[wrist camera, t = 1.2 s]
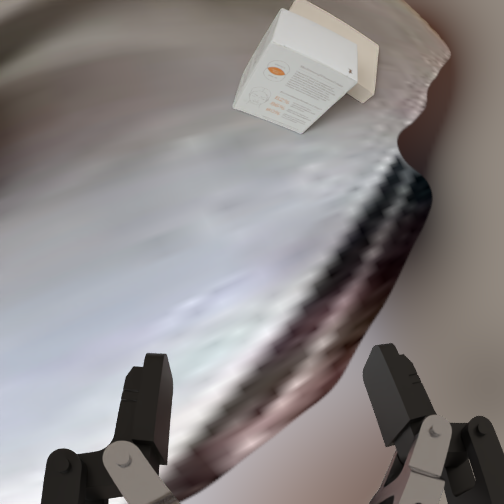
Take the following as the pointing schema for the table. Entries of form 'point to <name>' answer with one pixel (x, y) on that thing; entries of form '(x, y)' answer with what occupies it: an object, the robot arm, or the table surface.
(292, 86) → the small box
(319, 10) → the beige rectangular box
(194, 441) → the table surface
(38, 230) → the table surface
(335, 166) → the table surface
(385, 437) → the robot arm
